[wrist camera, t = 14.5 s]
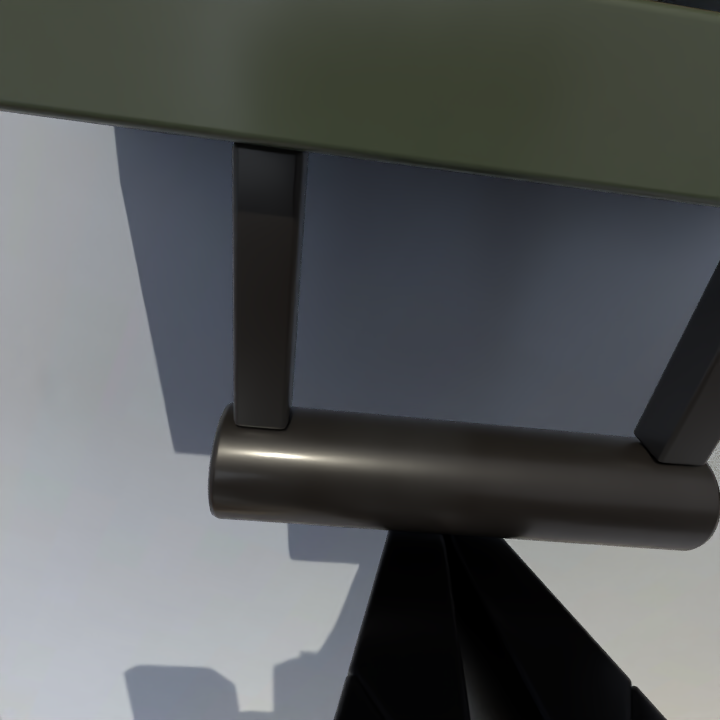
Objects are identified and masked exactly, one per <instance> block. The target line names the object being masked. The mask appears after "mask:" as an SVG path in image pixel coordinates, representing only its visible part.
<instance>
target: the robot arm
mask: <svg viewBox="0 0 720 720" xmlns="http://www.w3.org/2000/svg"><path fill="white" fill-rule="evenodd" d="M334 720H667V719H666V718H665V717H664V716H663V715H662V714H661V713H660V712H659V710H658V709H657V708H656V707H655V706H654V705H653V704H652V703H651V702H650V701H649V699H648V698H647V697H646V696H645V695H644V694H643V693H642V692H641V691H640V689H639V688H638V687H636V686H632V684H631V680H630V679H629V678H628V676H627V675H626V674H625V673H624V672H623V671H622V670H621V669H620V668H619V667H618V665H617V664H616V663H615V662H614V661H613V660H612V659H611V658H610V657H609V655H608V654H607V653H606V652H605V651H604V650H603V649H602V648H601V647H600V645H599V644H598V643H597V642H596V641H595V640H594V639H593V638H592V637H591V635H590V634H589V633H588V632H587V631H586V630H585V629H584V628H583V627H582V626H581V624H580V623H579V622H578V621H577V620H576V619H575V618H574V617H573V616H572V614H571V613H570V612H569V611H568V610H567V609H566V608H565V607H564V606H563V604H562V603H561V602H560V601H559V600H558V599H557V598H556V597H555V596H554V595H553V593H552V592H551V591H550V590H549V589H548V588H547V587H546V586H545V585H544V583H543V582H542V581H541V580H540V579H539V578H538V577H537V576H536V575H535V573H534V572H533V571H532V570H531V569H530V568H529V567H528V566H527V565H526V563H525V562H524V561H523V560H522V559H521V558H520V557H519V556H518V555H517V554H516V552H515V551H514V550H513V549H512V548H511V547H510V546H509V545H508V544H507V542H506V541H505V540H504V539H503V538H493V537H478V536H464V535H449V534H435V533H421V532H406V531H392V530H389V531H388V535H387V538H386V542H385V545H384V549H383V552H382V556H381V559H380V563H379V566H378V569H377V573H376V576H375V580H374V583H373V587H372V590H371V594H370V597H369V601H368V604H367V608H366V611H365V615H364V618H363V622H362V625H361V629H360V632H359V636H358V639H357V643H356V646H355V650H354V653H353V657H352V660H351V664H350V667H349V671H348V676H347V677H346V680H345V683H344V687H343V690H342V694H341V697H340V701H339V704H338V708H337V711H336V714H335V717H334Z"/></svg>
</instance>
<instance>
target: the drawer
mask: <svg viewBox="0 0 720 720" xmlns="http://www.w3.org/2000/svg"><path fill="white" fill-rule="evenodd" d="M0 111H5V112H12V113H20V114H27V115H35V116H42V117H50V118H57V119H65V120H72V121H79V122H87V123H94V124H102V125H109V126H117V127H124V128H132V129H139V130H146V131H154V132H161V133H169V134H176V135H184V136H191V137H199V138H206V139H213V140H221V141H228V142H234V144H233V147H232V213H233V397H234V402H232V403H229V404H228V405H227V406H226V408H225V409H224V411H223V413H222V415H221V418H220V420H219V423H218V426H217V429H216V433H215V437H214V442H213V447H212V452H211V459H210V466H209V477H208V499H209V506H210V510H211V513H212V515H213V516H215V517H217V518H219V519H233V520H248V521H262V522H277V523H291V524H305V525H320V526H334V527H349V528H363V529H377V530H392V531H406V532H421V533H435V534H449V535H464V536H478V537H493V538H507V539H522V540H536V541H550V542H565V543H579V544H594V545H608V546H622V547H637V548H651V549H666V550H680V551H687V550H692V549H695V548H697V547H699V546H701V545H703V544H704V543H705V542H707V541H708V540H709V539H710V538H711V536H712V535H713V533H714V532H715V530H716V528H717V525H718V522H719V518H720V491H719V486H718V483H717V480H716V477H715V475H714V473H713V471H712V469H711V467H710V466H709V464H708V463H707V460H708V459H709V457H710V455H711V454H712V452H713V451H714V449H715V447H716V446H717V444H718V442H719V441H720V261H719V263H718V265H717V267H716V269H715V271H714V273H713V275H712V277H711V279H710V281H709V283H708V285H707V287H706V289H705V291H704V293H703V295H702V297H701V299H700V301H699V303H698V305H697V307H696V309H695V311H694V313H693V315H692V317H691V319H690V321H689V323H688V325H687V327H686V329H685V331H684V333H683V335H682V337H681V339H680V341H679V343H678V345H677V347H676V349H675V351H674V353H673V355H672V357H671V359H670V361H669V363H668V365H667V367H666V369H665V371H664V373H663V375H662V377H661V379H660V381H659V383H658V385H657V387H656V389H655V391H654V393H653V395H652V397H651V399H650V401H649V403H648V405H647V407H646V408H645V410H644V412H643V414H642V416H641V418H640V420H639V422H638V424H637V426H636V428H635V430H634V434H635V436H636V437H637V438H635V437H624V436H613V435H602V434H590V433H579V432H568V431H557V430H546V429H535V428H524V427H512V426H501V425H490V424H479V423H468V422H457V421H446V420H434V419H423V418H412V417H401V416H390V415H379V414H367V413H356V412H345V411H334V410H323V409H312V408H301V407H291V405H292V397H293V382H294V367H295V352H296V337H297V322H298V307H299V292H300V276H301V261H302V246H303V231H304V216H305V201H306V186H307V171H308V156H309V153H308V152H310V153H318V154H325V155H333V156H340V157H347V158H355V159H362V160H370V161H377V162H385V163H392V164H399V165H407V166H414V167H422V168H429V169H437V170H444V171H452V172H459V173H466V174H474V175H481V176H489V177H496V178H504V179H511V180H519V181H526V182H533V183H541V184H548V185H556V186H563V187H571V188H578V189H586V190H593V191H600V192H608V193H615V194H623V195H630V196H638V197H645V198H652V199H660V200H667V201H675V202H682V203H690V204H697V205H705V206H712V207H719V208H720V12H716V11H711V10H705V9H699V8H693V7H687V6H681V5H676V4H670V3H664V2H658V1H652V0H0Z"/></svg>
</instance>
